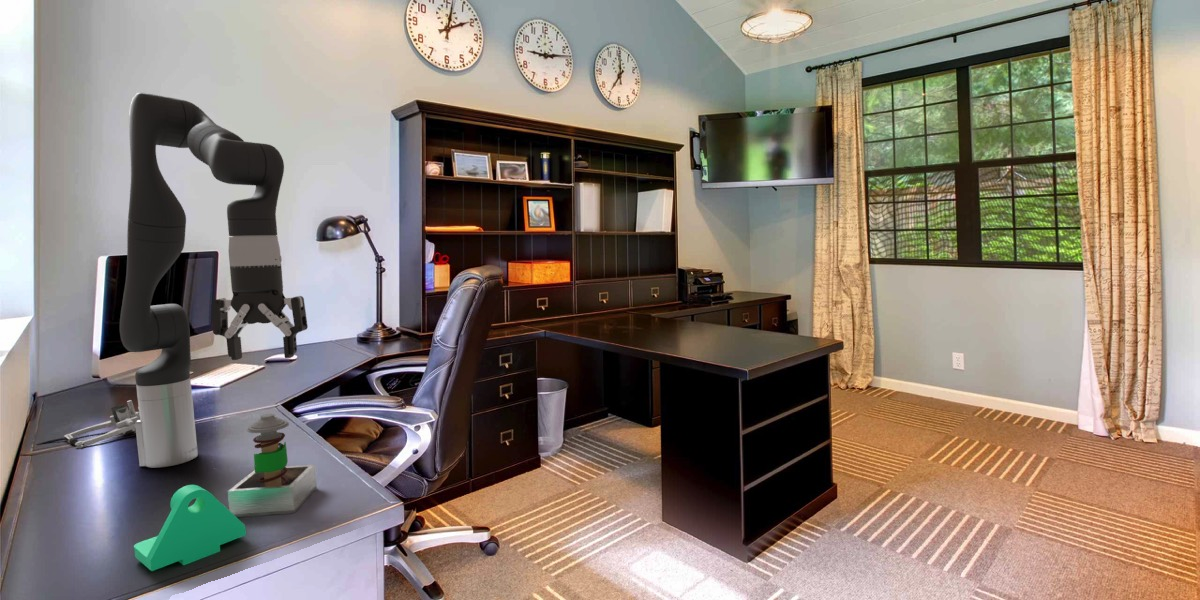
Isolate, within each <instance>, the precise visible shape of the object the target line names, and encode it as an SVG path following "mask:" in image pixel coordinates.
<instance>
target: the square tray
mask: <svg viewBox="0 0 1200 600" xmlns="http://www.w3.org/2000/svg"><path fill="white" fill-rule="evenodd" d="M285 467H286V468H287V472H286V473H285V474H284V475H283V476H284V477H286V478H287V479H288V483H287V484H286V485H285V486H274V487H265V484H264V482H263V483H260V482H258V479H259V478H261V477H264V473H263V472H258V473H255V469H254V470H253V471H252V472H250V473H249V474H248V475H246V476H245V477H244V478H243V479H241V480H239V482H238V483H236V484H235V485H234V486H232V487H231V488H230V489H228V490H227V498H228V500H227V501H228V510H229V511H230V512H231V513H232V514H233V515H235V516H236V517H237V518H245V517H257V516H270V515H272V516H273V515H285V514H287V515H288V514H295V513H296V512H297V511H298V510H299V509H300V507H302V505H303V504H305V502H306V501H307V500H308V498H310V496H312V494H313V493H314V492H315V491H316V490H317V489H318V485H317V484H318V483H317V474H316V473H317V471H316V464H304V465H303V464H302V465H290V466H287V465H286V466H285ZM283 471H284V469H281V473H283ZM281 482H282V485H283V484H284V483H285V480H283V479H281Z"/></svg>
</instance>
